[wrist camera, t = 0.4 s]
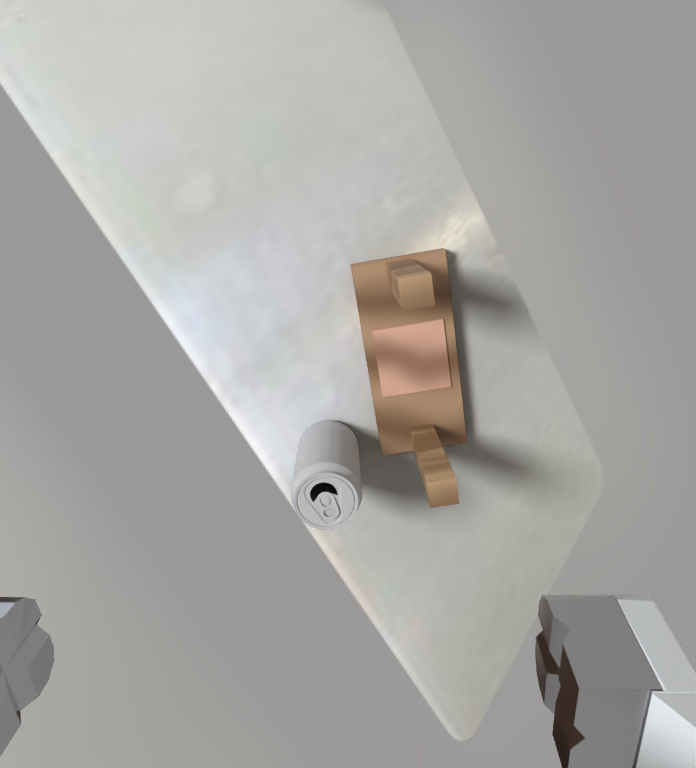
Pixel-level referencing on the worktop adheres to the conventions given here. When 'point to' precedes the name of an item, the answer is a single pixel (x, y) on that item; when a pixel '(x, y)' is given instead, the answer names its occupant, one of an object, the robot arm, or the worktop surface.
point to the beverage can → (327, 476)
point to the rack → (413, 362)
